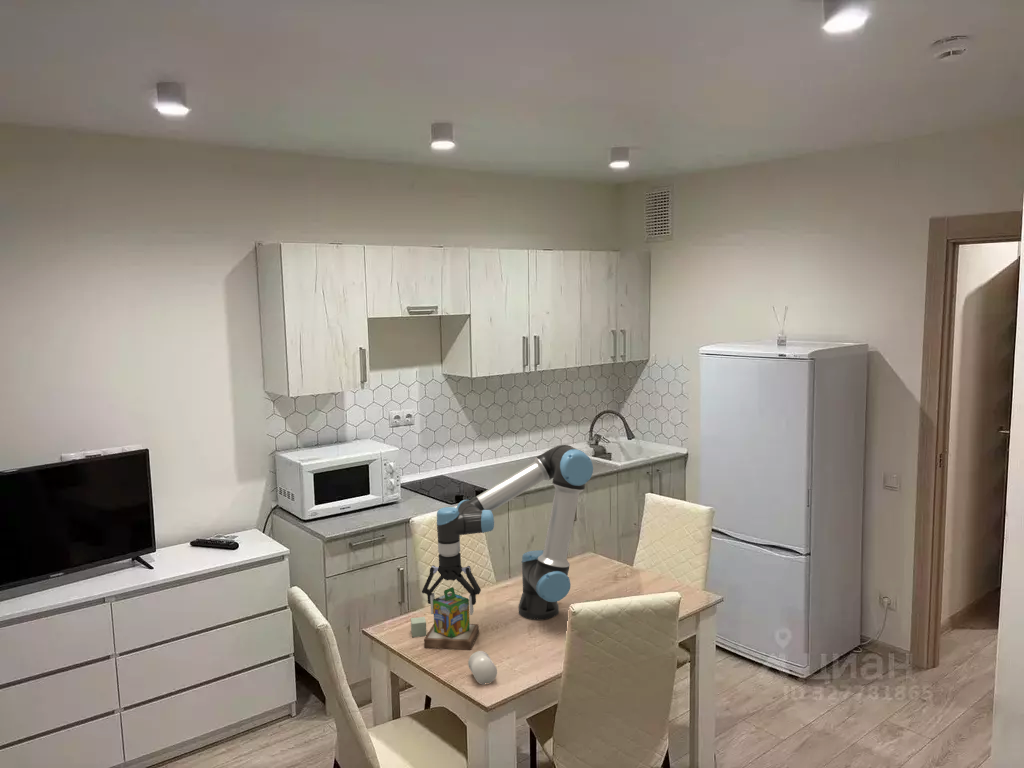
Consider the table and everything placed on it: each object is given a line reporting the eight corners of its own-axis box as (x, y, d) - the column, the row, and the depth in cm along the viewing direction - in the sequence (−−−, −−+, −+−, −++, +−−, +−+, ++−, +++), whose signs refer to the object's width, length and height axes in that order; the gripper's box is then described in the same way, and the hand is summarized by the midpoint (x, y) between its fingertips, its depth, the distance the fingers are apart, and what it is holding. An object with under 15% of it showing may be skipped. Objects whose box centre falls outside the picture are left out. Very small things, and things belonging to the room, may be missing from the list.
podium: (478, 632, 266) (478, 623, 265) (470, 650, 252) (470, 640, 252) (434, 630, 268) (434, 621, 268) (424, 647, 254) (424, 638, 254)
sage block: (425, 630, 269) (424, 616, 268) (426, 636, 264) (426, 622, 264) (411, 631, 268) (410, 618, 267) (412, 637, 263) (411, 623, 263)
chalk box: (451, 639, 253) (450, 596, 252) (433, 631, 259) (431, 590, 258) (470, 630, 260) (469, 588, 259) (452, 623, 266) (451, 582, 265)
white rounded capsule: (489, 649, 237) (497, 660, 229) (489, 671, 237) (496, 682, 230) (468, 652, 235) (475, 663, 227) (468, 674, 235) (474, 685, 228)
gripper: (487, 549, 259) (489, 609, 261) (417, 549, 263) (420, 607, 265) (483, 557, 251) (485, 618, 254) (411, 556, 255) (414, 616, 257)
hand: (452, 613), depth 259 cm, fingers open, 13 cm apart
